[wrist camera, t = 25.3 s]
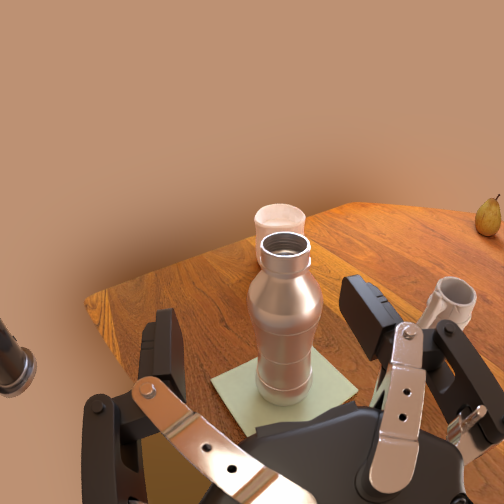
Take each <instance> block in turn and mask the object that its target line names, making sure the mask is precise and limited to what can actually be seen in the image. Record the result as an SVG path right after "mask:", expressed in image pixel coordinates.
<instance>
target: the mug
mask: <svg viewBox="0 0 504 504" xmlns="http://www.w3.org/2000/svg"><path fill="white" fill-rule="evenodd" d="M475 303H476V292H475V290H474V289H473V288H472V287H471V286H469V285H468V284H467V283H466V282H465V281H464V280H462V279H460V280H459V278H456V277H444V278H443V279H440V280H439V281H438V282H437V285H436V287H435V290H434V292H433V294H432V295H431V296H430V297H429V298H428V300H427V308H426V309H425V311H424V312H423V314H422V316H421V318H420V319H419V320H418V322H417V323H416V325H418V326H419V327H420V328H421V329H433V328H435V327H436V325H437V323H438V322H439V321H441V320H444V319H447V320H451V321H453V322H455V323H456V324H457V325H458V326H459V327H460V329H461V330H462V331H463V329H464V327H465V326H466V325H467V324H468V322H469V321H470V319H471V312H472V310H473V308H474V305H475Z"/></svg>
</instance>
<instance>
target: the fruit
mask: <svg viewBox="0 0 504 504" xmlns="http://www.w3.org/2000/svg"><path fill="white" fill-rule="evenodd" d="M499 196H500V194H499V195H498V196H497V198H498V197H499ZM497 198H496V199H494V198H490V199H488V200H487V201H486V202H485V203H484V204H483V205H482V206H481V207H480V208H479V209H478V211H477V213H476V216H475V226H476V229H477V231H478V232H479V233H481V234H483V235H485V236H491V235H494V234H496V233H497V232H498V230H499V228H500V224H501V214H500V207H499V204H498V202H497Z"/></svg>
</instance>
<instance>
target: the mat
mask: <svg viewBox="0 0 504 504" xmlns="http://www.w3.org/2000/svg"><path fill="white" fill-rule="evenodd" d="M257 364H258V357H257V358H255V359H253V360H251V361H249V362H247V363H245V364H242V365H240V366H238V367H236V368H234V369H232V370H230V371H228V372H226V373H223V374H221V375H219V376H217V377H215V378H212V379H210V380H211V382H212V384H213V386H214V387H215V389H216V391H217V392H218V394H219V395H220V397H221V399H222V400H223V402H224V403H225V405H226V406H227V408H228V410H229V411H230V413H231V414H232V416H233V417H234V419H235V420H236V422H237V423H238V425H239V426H240V428H241V429H242V431H243V432H244V434H245V435H246V436H247V437H249V436H251V435H253V434H255V433H256V430H255V427H259V426H264V425H269V424H273V423H278V422H298V421H310V420H312V419H314V418H315V417H317V416H319V415H321V414H322V413H324V412H326V411H327V410H329V409H331V408H333V407H336V406H340V405H341V404H343V403H344V402H345V401H347V400H348V399H349V398H351V397H352V396H353V395H354V394H356V393H357V392H358V389H357V388H356V387H355V386H354V385H352V384H351V383H350V382H349V381H348V380H347V379H346V378H345V377H344V376H343V375H342V374H341V373H340V372H339V371H338V370H337V369H336V368H334V367H333V366H332V365H331V364H330V363H329V362H328V361H327V360H326V359H325V358H324V357H323V356H322V355H321V354H320V353H319V352H318V351H317V350H316V349H315V348H314V347H313V346H312V348H311V367H312V373H313V383H312V387H311V389H310V391H309V392H308V394H307V396H306V397H305V398H304V399H303V400H302V401H301V402H299V403H297V404H295V405H291V406H278V405H274V404H272V403H269V402H268V401H266V400H265V399H264V398H263V397H262V395H261V394H260V392H259V390H258V388H257V385H256V382H255V374H256V367H257Z"/></svg>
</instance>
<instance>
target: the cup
mask: <svg viewBox="0 0 504 504" xmlns="http://www.w3.org/2000/svg"><path fill="white" fill-rule="evenodd" d="M254 221H255V225H256V257H257V260H258V263H259V265H260V257H261V248H260V246H261V241H262V240H263V239H264V238H265V237H266V236H268V235H270V234H273V233H278V232H292V233H297V234H300V235H302V236H304V223H305V215H304V213H303V212H302V211H301V210H300V209H298V208H296V207H294V206H291V205H286V204H273V205H267V206H265V207H262V208H261V209H260V210H259V211H258V212H257V214H256V216H255V218H254Z"/></svg>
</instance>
